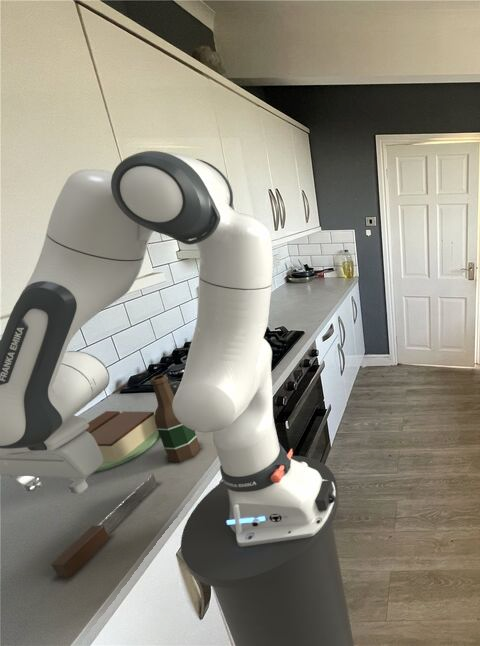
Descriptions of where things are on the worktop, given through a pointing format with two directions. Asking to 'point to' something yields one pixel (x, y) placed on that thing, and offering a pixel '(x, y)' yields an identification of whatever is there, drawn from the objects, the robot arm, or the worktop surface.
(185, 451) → the beer bottle
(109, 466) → the cake
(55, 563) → the knife
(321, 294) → the worktop surface
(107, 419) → the cake slice
